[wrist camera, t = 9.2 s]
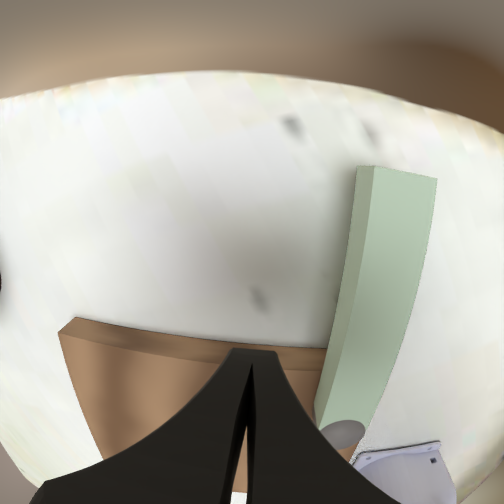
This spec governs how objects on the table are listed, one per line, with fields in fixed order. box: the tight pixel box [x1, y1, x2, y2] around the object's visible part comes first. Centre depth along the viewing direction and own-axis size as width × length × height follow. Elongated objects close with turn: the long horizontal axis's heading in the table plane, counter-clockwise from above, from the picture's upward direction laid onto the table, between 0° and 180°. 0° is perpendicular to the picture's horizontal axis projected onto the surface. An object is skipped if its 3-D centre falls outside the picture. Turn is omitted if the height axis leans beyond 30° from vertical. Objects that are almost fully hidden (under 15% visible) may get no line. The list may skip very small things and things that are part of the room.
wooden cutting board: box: [58, 317, 359, 493], centre depth 20 cm, size 22×16×2 cm
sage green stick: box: [312, 166, 437, 450], centre depth 14 cm, size 16×3×2 cm, turn 176°
